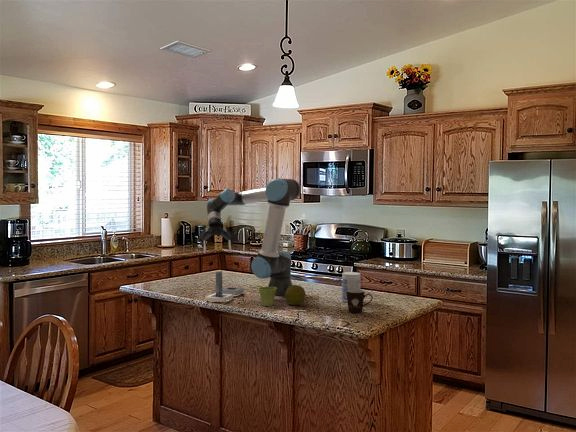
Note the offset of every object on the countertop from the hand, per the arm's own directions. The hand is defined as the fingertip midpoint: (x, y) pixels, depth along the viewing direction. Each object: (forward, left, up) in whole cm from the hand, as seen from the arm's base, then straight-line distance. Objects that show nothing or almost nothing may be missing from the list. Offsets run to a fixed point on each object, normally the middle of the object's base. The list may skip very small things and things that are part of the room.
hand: (217, 251), depth 279 cm
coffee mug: (-78, +12, -25) cm, 83 cm away
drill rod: (-4, +7, -25) cm, 26 cm away
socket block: (-4, -9, -25) cm, 27 cm away
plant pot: (-32, +10, -25) cm, 42 cm away
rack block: (-4, +7, -25) cm, 26 cm away
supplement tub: (-70, -12, -25) cm, 75 cm away
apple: (-45, +5, -25) cm, 52 cm away
